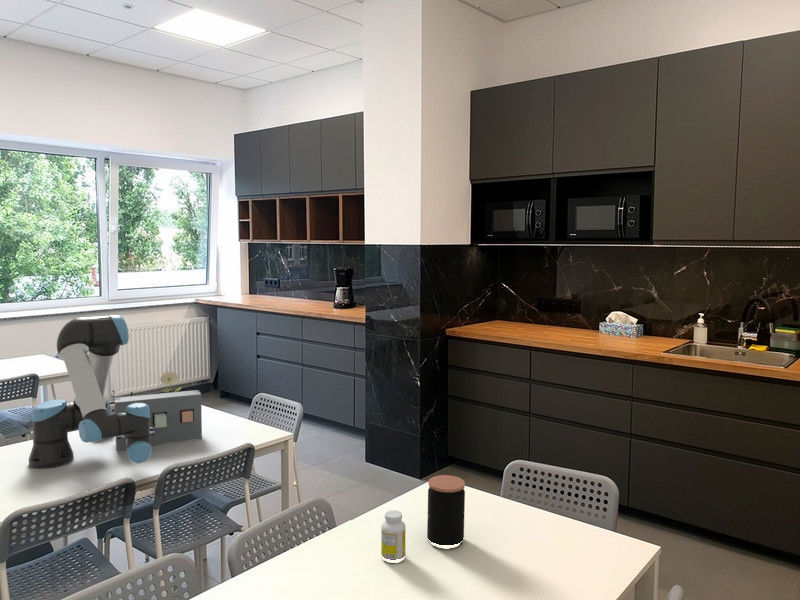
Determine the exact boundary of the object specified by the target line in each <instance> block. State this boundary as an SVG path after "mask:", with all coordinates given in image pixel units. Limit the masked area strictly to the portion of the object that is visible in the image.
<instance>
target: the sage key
mask: <svg viewBox="0 0 800 600" xmlns="http://www.w3.org/2000/svg"><path fill="white" fill-rule="evenodd" d="M154 425H155V428H159V427H167V418H166V414H165V412H161V413H154Z"/></svg>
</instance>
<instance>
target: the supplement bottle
mask: <svg viewBox="0 0 800 600" xmlns="http://www.w3.org/2000/svg"><path fill="white" fill-rule="evenodd" d="M402 518H403V513H402V511H399V510H397V509H395V510H392V509H391V510H387V511H386V512H385V513H384V521H383V522H382V524H381V535H380V536H381V540H380V541H381V546H380V547H381V550H380V551H381V552H380V553H381V554H382V556H383V557H384V558H386V559H390V560H396V559H401V558H403V557H404V556H405V557H406V524H405V522H404V521H403V520H402ZM381 554H380V555H381Z"/></svg>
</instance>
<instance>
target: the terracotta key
mask: <svg viewBox="0 0 800 600" xmlns="http://www.w3.org/2000/svg"><path fill="white" fill-rule="evenodd" d="M180 419H181V421H182V423H183V422H191V421H193V411H192V409H188V410H180Z"/></svg>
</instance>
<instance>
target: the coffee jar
mask: <svg viewBox="0 0 800 600" xmlns="http://www.w3.org/2000/svg"><path fill="white" fill-rule="evenodd" d="M427 482H428V486H429V487H428V490H427V521H426V522H427V527H426V528H427V529H426V531H427V532H426V533H427V534H426V536H427V540H428V539H429V540H430V541H431V542H433V543H436V544H439V545H454V544H458V543H460V542H461V541H462V540H463V541H464V539H463V538H464V537H465V504H466V503H465V500H466V491H465V487H466V482H465V480H464V479H462V478H461V477H458V476H456V475H448V474H441V475H440V474H439V475H435V476H433V477H430V478H429V479H428V481H427ZM429 540H428V541H429Z"/></svg>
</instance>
